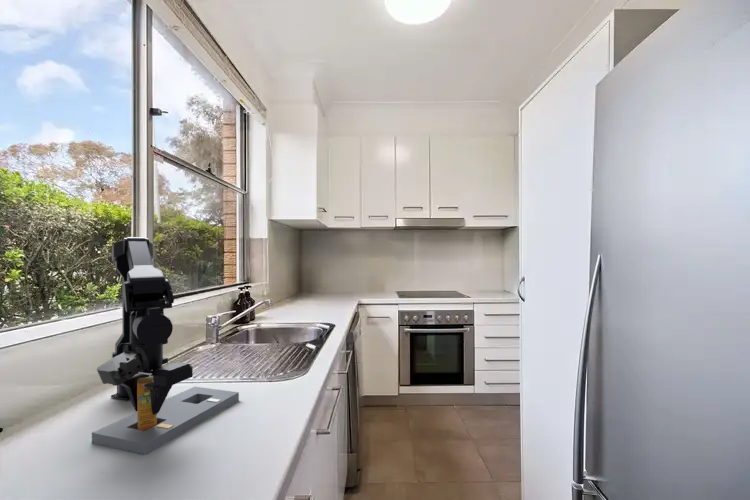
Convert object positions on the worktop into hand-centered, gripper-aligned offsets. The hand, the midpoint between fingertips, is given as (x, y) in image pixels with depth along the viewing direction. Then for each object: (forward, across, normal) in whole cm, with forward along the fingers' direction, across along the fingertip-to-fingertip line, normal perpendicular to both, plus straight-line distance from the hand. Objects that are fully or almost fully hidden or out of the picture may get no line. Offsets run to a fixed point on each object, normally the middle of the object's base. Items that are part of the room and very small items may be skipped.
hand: (147, 412), depth 72 cm
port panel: (+4, 0, +6) cm, 8 cm away
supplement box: (+3, 0, 0) cm, 3 cm away
